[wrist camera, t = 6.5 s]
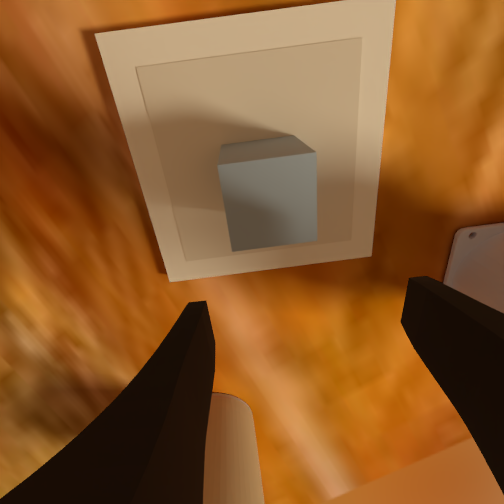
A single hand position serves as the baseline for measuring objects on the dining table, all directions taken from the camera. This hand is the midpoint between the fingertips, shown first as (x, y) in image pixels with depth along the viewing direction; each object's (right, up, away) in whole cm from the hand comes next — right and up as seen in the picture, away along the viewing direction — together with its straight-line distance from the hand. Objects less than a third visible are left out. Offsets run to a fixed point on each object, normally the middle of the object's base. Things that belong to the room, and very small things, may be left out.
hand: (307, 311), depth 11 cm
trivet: (-2, +7, +7) cm, 10 cm away
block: (-1, +7, +6) cm, 9 cm away
